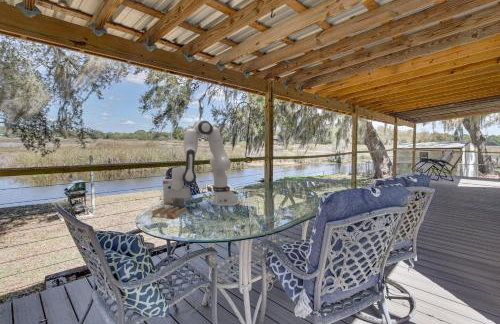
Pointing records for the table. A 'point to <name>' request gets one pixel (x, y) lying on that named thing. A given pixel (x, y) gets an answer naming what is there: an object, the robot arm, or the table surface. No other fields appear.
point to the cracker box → (166, 183)
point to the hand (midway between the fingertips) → (179, 203)
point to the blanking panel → (178, 203)
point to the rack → (168, 212)
